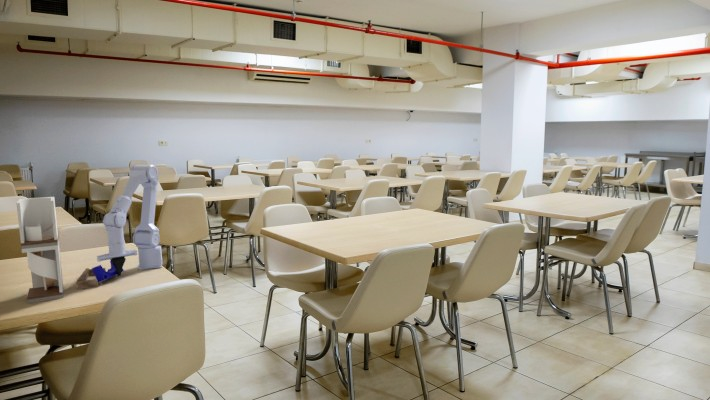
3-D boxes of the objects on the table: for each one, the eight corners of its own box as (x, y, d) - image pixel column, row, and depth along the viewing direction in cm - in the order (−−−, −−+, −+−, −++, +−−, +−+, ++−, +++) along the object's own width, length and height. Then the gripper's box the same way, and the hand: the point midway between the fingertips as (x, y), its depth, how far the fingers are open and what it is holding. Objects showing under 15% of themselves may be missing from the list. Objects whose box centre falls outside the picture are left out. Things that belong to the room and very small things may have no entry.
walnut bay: (105, 273, 207) (105, 266, 206) (97, 286, 190) (97, 279, 189) (86, 275, 205) (86, 268, 204) (77, 288, 188) (76, 280, 187)
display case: (29, 293, 183) (19, 198, 177) (63, 288, 188) (54, 196, 183) (27, 303, 173) (16, 203, 168) (63, 297, 178) (53, 200, 173)
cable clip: (114, 274, 205) (109, 261, 205) (123, 271, 204) (118, 257, 204) (94, 283, 194) (88, 269, 193) (104, 280, 193) (98, 265, 192)
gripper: (131, 237, 206) (134, 269, 208) (93, 243, 196) (96, 277, 198) (137, 240, 200) (140, 273, 202) (98, 246, 191) (101, 281, 193)
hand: (119, 275), depth 200 cm, fingers closed, pressing on cable clip
